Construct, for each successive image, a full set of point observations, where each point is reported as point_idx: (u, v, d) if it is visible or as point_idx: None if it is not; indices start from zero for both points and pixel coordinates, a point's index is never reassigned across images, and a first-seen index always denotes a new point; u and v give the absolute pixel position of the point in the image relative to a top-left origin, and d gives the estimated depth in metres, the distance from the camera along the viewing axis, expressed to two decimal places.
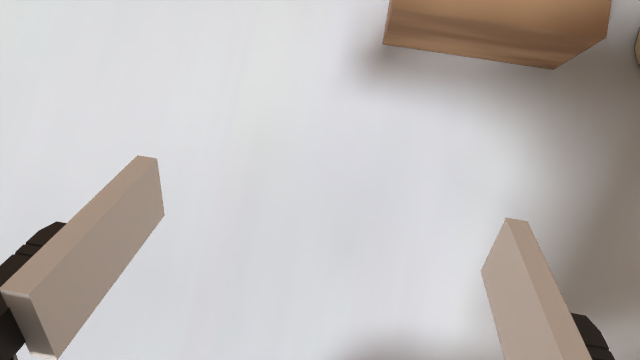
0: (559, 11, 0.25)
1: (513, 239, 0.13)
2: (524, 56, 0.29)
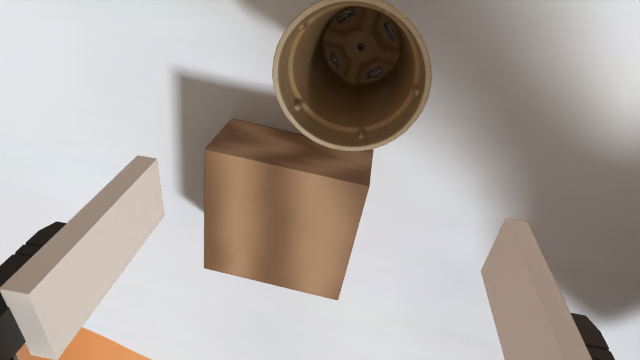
0: (346, 213, 0.32)
1: (513, 239, 0.13)
2: None
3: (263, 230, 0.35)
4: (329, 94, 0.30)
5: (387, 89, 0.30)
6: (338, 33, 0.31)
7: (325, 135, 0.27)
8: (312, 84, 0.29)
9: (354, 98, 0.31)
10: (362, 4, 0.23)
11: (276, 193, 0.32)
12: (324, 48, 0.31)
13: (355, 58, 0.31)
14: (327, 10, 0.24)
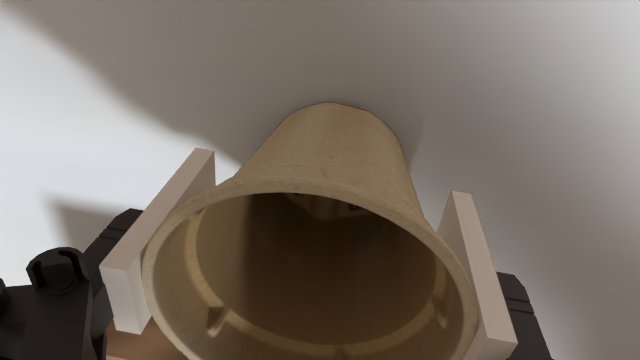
0: None
1: (455, 208, 0.15)
2: None
3: None
4: (283, 260, 0.17)
5: (382, 248, 0.17)
6: None
7: None
8: (249, 255, 0.16)
9: (327, 258, 0.18)
10: None
11: None
12: None
13: None
14: None
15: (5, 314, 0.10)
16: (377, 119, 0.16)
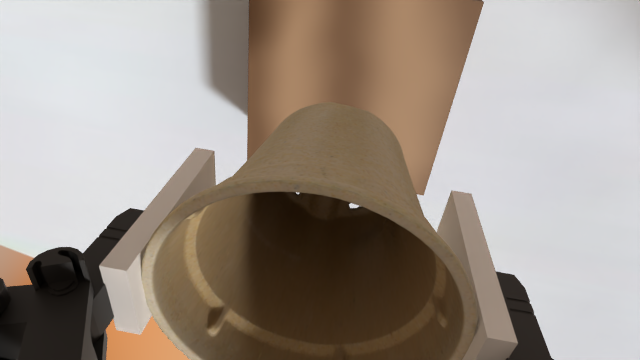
0: (445, 53, 0.24)
1: (455, 208, 0.15)
2: None
3: (329, 95, 0.26)
4: (283, 260, 0.17)
5: (382, 247, 0.17)
6: None
7: None
8: (249, 255, 0.16)
9: (327, 257, 0.18)
10: None
11: (348, 32, 0.24)
12: None
13: None
14: None
15: (5, 314, 0.10)
16: (377, 119, 0.16)
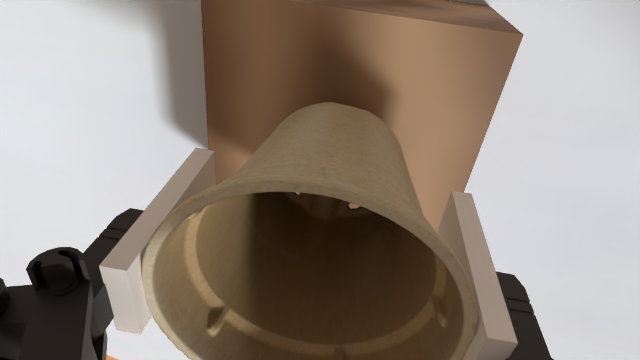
0: (468, 100, 0.17)
1: (455, 208, 0.15)
2: None
3: None
4: (283, 260, 0.17)
5: (382, 247, 0.17)
6: None
7: None
8: (249, 255, 0.16)
9: (327, 257, 0.18)
10: None
11: (337, 71, 0.18)
12: None
13: None
14: None
15: (5, 314, 0.10)
16: (377, 119, 0.16)
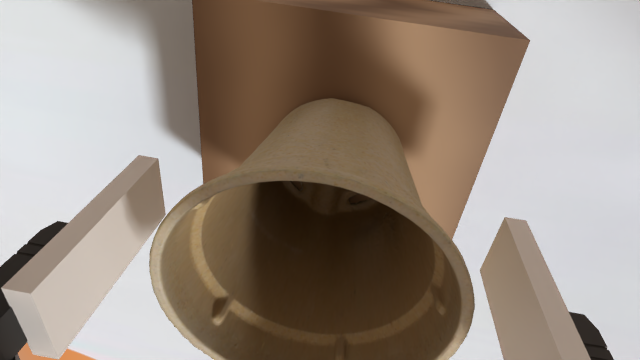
0: (471, 108, 0.17)
1: (512, 238, 0.13)
2: None
3: None
4: (285, 253, 0.18)
5: (382, 241, 0.18)
6: None
7: None
8: (252, 247, 0.17)
9: (329, 250, 0.18)
10: None
11: (335, 78, 0.17)
12: None
13: None
14: None
15: None
16: (377, 114, 0.17)
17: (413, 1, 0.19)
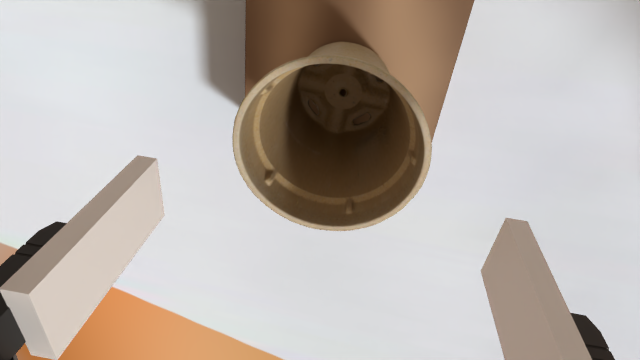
0: (438, 47, 0.24)
1: (513, 239, 0.13)
2: None
3: None
4: (308, 153, 0.25)
5: (377, 143, 0.25)
6: (315, 77, 0.26)
7: (305, 211, 0.22)
8: (287, 145, 0.24)
9: (339, 154, 0.26)
10: None
11: (343, 27, 0.24)
12: (300, 95, 0.27)
13: (338, 104, 0.26)
14: (296, 68, 0.19)
15: None
16: (373, 52, 0.24)
17: None
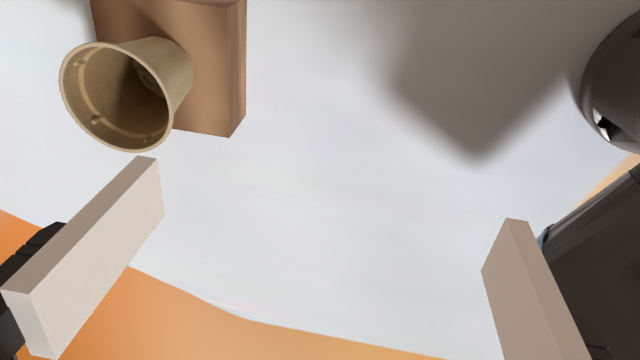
0: (215, 40, 0.37)
1: (513, 239, 0.13)
2: (241, 30, 0.41)
3: None
4: (136, 109, 0.39)
5: None
6: None
7: (119, 141, 0.36)
8: (117, 102, 0.37)
9: (159, 110, 0.39)
10: None
11: (154, 26, 0.38)
12: (137, 71, 0.40)
13: None
14: (95, 50, 0.32)
15: None
16: (173, 43, 0.38)
17: None
